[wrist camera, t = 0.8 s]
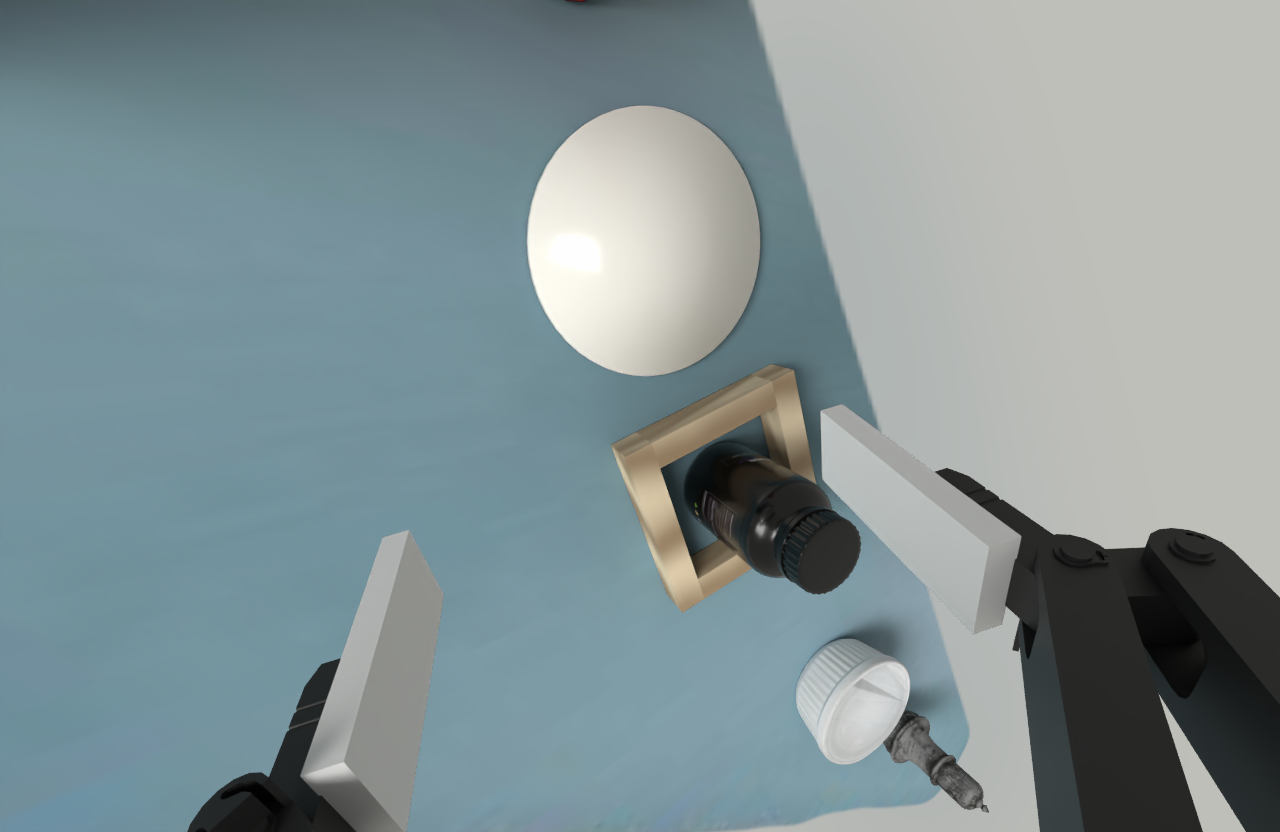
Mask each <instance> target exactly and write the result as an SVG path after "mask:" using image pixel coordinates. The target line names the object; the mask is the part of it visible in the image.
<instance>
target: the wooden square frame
mask: <svg viewBox="0 0 1280 832" xmlns="http://www.w3.org/2000/svg"><path fill="white" fill-rule="evenodd" d="M759 415H760V417H761V421H762V425H763V430H764V434H765V438H766V442H767V447H768V451H769V455H770V459H771V460H773V461H775V462H777V463H778V464H780V465H782V466H784V467H786V468H788V469H790V470H792V471H793V472H795V473H797V474H799V475H801V476H803V477H805V478H807V479H808V480H810V481H812V482H813V483H815V484H816V481H815V476H814V471H813V466H812V460H811V455H810V450H809V445H808V440H807V435H806V430H805V425H804V419H803V414H802V409H801V404H800V399H799V394H798V389H797V384H796V378H795V373H794V370H792V369H788V368H785V367H781V366H777V365H773V364H771V365H769V366H767V367H765V368H763V369H761V370H759V371H757V372H755V373H753V374H751V375H749V376H747V377H745V378H743V379H741V380H739V381H737V382H735V383H733V384H731V385H729V386H727V387H725V388H723V389H721V390H719V391H717V392H715V393H713V394H711V395H709V396H707V397H705V398H703V399H701V400H699V401H697V402H695V403H693V404H691V405H689V406H687V407H685V408H683V409H681V410H679V411H677V412H675V413H673V414H671V415H669V416H667V417H665V418H663V419H661V420H659V421H657V422H655V423H653V424H651V425H649V426H647V427H645V428H643V429H641V430H640V431H638V432H636V433H634V434H632V435H630V436H628V437H626V438H624V439H622V440H620V441H618V442H616V443H614V444H612V445H611V447H612V450H613V452H614V455H615V458H616V460H617V463H618V465H619V468H620V471H621V473H622V476H623V479H624V481H625V484H626V487H627V489H628V492H629V495H630V497H631V500H632V502H633V505H634V508H635V510H636V513H637V516H638V518H639V521H640V524H641V526H642V529H643V532H644V534H645V537H646V539H647V542H648V545H649V547H650V550H651V553H652V555H653V558H654V561H655V563H656V566H657V569H658V571H659V574H660V576H661V579H662V582H663V584H664V587H665V590H666V592H667V594H668V596H669V597H670V598H671V599H672V600H673V602H674V603H675V604H676V605H677V607H678V608H679V609H680V610H681V611H682V613H683V612H684V611H686V610H687V609H689V608H690V607H692V606H694V605H695V604H697V603H698V602H700V601H701V600H703V599H705V598H706V597H708V596H709V595H711V594H712V593H714V592H715V591H717V590H719V589H720V588H722V587H723V586H725V585H726V584H728V583H730V582H731V581H733V580H734V579H736V578H737V577H739V576H741V575H742V574H744V573H745V572H747V571H748V570H750V569H752V568H751V567H750V566H749V565H748V564H747V563H745V562H744V561H743V560H742V559H741V558H740V557H739V556H737V555H736V554H735V553H734V552H733V551H732V550H731V549H729V548H728V547H727V546H726V545H725V544H724V543H723V542H721V541H720V540H717V541H716V542H714V543H712V544H711V545H709V546H707V547H706V548H704V549H702V550H701V551H699V552H697V553H696V554H694V555H693V556H691V557H690V555H689V552H688V549H687V546H686V543H685V540H684V537H683V534H682V531H681V528H680V525H679V523H678V520H677V517H676V514H675V511H674V508H673V505H672V502H671V499H670V496H669V493H668V490H667V487H666V484H665V481H664V478H663V475H662V473H661V470H660V468H662V467H664V466H666V465H668V464H670V463H672V462H673V461H675V460H677V459H679V458H681V457H683V456H685V455H687V454H688V453H690V452H692V451H694V450H696V449H698V448H700V447H701V446H703V445H705V444H707V443H709V442H711V441H713V440H715V439H716V438H718V437H720V436H722V435H724V434H726V433H728V432H730V431H731V430H733V429H735V428H737V427H739V426H741V425H743V424H744V423H746V422H748V421H750V420H752V419H754V418H756V417H758V416H759Z"/></svg>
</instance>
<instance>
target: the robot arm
mask: <svg viewBox="0 0 1280 832" xmlns="http://www.w3.org/2000/svg"><path fill="white" fill-rule="evenodd" d="M821 448H822V480H823V481H824V482H825V483H826V484H827V485H828V486H829V487H830V488H831V489H832V490H833V491H834V492H835V493H836V494H837V495H838V496H839V497H840V498H841V499H842V500H843V501H844V502H845V503H846V504H847V505H848V506H849V507H850V508H851V509H852V510H853V512H854V513H855V514H856V515H857V516H858V517H859V518H860V519H861V520H862V521H863V522H864V523H865V524H866V525H867V526H868V527H869V528H870V529H871V530H872V531H873V532H874V533H875V534H876V535H877V536H878V537H879V538H880V539H881V540H882V541H883V542H884V543H885V544H886V545H887V547H888V548H889V549H890V550H891V551H892V552H893V553H894V554H895V555H896V556H897V557H898V558H899V559H900V560H901V561H902V562H903V563H904V564H905V565H906V566H907V567H908V568H909V569H910V570H911V571H912V572H913V573H914V574H915V575H916V576H917V577H918V578H919V579H920V580H921V582H922V583H923V584H924V585H925V586H926V587H927V588H928V589H929V590H930V591H931V592H932V593H933V594H934V595H935V596H936V597H937V598H938V599H939V600H940V601H941V602H942V603H943V604H944V605H945V606H946V607H947V608H948V609H949V610H950V611H951V612H952V613H953V614H954V615H955V617H957V619H958V620H959V621H960V622H961V623H962V624H963V625H964V626H965V627H966V628H967V629H968V630H969V631H970V632H971V633H972V634H976V633H979V632H981V631H984V630H987V629H990V628H993V627H996V626H999V625H1002V622H1003V618H1004V614H1005V609H1006V606H1007V607H1008V608H1009V609H1010V610H1011V611H1012V612H1013V613H1014V614H1015V615H1017V616H1018V617H1019V618H1020V620H1019V624H1018V629H1017V633H1016V637H1015V641H1014V646H1013V650H1014V651H1019V647H1020V653H1021V662H1022V671H1023V680H1024V690H1025V699H1026V708H1027V716H1028V726H1029V735H1030V745H1031V754H1032V762H1033V771H1034V781H1035V790H1036V799H1037V808H1038V818H1039V827H1040V832H1203V831H1202V828H1201V825H1200V822H1199V819H1198V816H1197V812H1196V809H1195V806H1194V803H1193V800H1192V797H1191V794H1190V790H1189V787H1188V784H1187V781H1186V778H1185V775H1184V772H1183V769H1182V766H1181V762H1180V759H1179V756H1178V753H1177V750H1176V747H1175V744H1174V741H1173V738H1172V734H1171V731H1170V729H1169V725H1168V722H1167V719H1166V716H1165V713H1164V710H1163V707H1162V703H1161V701H1160V697H1159V695H1160V696H1161V698H1162V699H1163V701H1164V703H1165V704H1166V706H1167V707H1168V709H1169V710H1170V712H1171V714H1172V715H1173V717H1174V718H1175V720H1176V722H1177V723H1178V725H1179V726H1180V728H1181V729H1182V731H1183V733H1184V734H1185V736H1186V737H1187V739H1188V741H1189V742H1190V744H1191V745H1192V747H1193V749H1194V750H1195V752H1196V753H1197V754H1198V756H1199V758H1200V759H1201V761H1202V763H1203V764H1204V766H1205V767H1206V769H1207V770H1208V772H1209V774H1210V775H1211V777H1212V779H1213V780H1214V782H1215V783H1216V785H1217V786H1218V788H1219V790H1220V791H1221V793H1222V794H1223V796H1224V797H1225V799H1226V801H1227V802H1228V804H1229V805H1230V807H1231V809H1232V810H1233V812H1234V813H1235V815H1236V817H1237V818H1238V820H1239V821H1240V823H1241V824H1242V826H1243V828H1244V829H1245V831H1246V832H1280V597H1279V596H1278V595H1277V594H1276V593H1275V592H1273V590H1272V589H1271V588H1270V587H1269V586H1268V585H1267V584H1266V583H1265V582H1264V581H1263V580H1262V579H1261V578H1260V577H1259V576H1258V575H1257V574H1256V573H1255V572H1254V571H1253V570H1252V569H1251V568H1250V567H1249V566H1248V565H1247V564H1246V563H1245V562H1244V561H1243V560H1242V559H1241V558H1240V557H1239V556H1238V555H1237V554H1236V553H1235V552H1234V551H1232V550H1231V549H1230V548H1229V547H1227V546H1226V545H1224V544H1223V543H1222V542H1219V541H1218V540H1215V539H1213V538H1211V537H1209V536H1207V535H1204V534H1201V533H1197V532H1194V531H1190V530H1184V529H1174V528H1169V529H1159V530H1157V531H1155V532H1153V533H1151V534H1150V536H1149V539H1148V541H1147V544H1146V547H1145V548H1125V549H1104V548H1103V547H1101V546H1100V545H1098V544H1096V543H1094V542H1092V541H1090V540H1087V539H1085V538H1081V537H1077V536H1073V535H1061V534H1056V535H1053V534H1052V533H1050V532H1049V531H1047V530H1045V529H1044V528H1043V527H1041V526H1040V525H1039V524H1037V523H1036V522H1034V521H1033V520H1031V519H1030V518H1028V517H1027V516H1025V515H1024V514H1023V513H1021V512H1020V511H1018V510H1017V509H1015V508H1014V507H1012V506H1011V505H1010V504H1008V503H1007V502H1005V501H1004V500H1000V499H999V497H998V496H997V495H995V494H994V493H992V492H991V491H989V490H986V489H985V487H984V486H982V485H981V484H979V483H978V482H976V481H975V480H973V479H972V478H971V477H969V476H967V475H964V474H962V473H959V472H956V471H954V470H951V469H948V468H946V469H943V470H939V471H936V472H934V471H932V470H931V469H930V468H928V467H927V466H925V465H924V464H923V463H921V462H920V461H919V460H917V459H916V458H915V457H913V456H912V455H911V454H909V453H908V452H907V451H905V450H904V449H902V448H901V447H900V446H898V445H897V444H896V443H894V442H893V441H892V440H890V439H889V438H888V437H886V436H885V435H884V434H882V433H881V432H880V431H878V430H877V429H875V428H874V427H873V426H871V425H870V424H869V423H867V422H866V421H865V420H863V419H862V418H861V417H859V416H858V415H856V414H855V413H854V412H852V411H851V410H850V409H848V408H847V407H846V406H844V405H843V404H841V405H838V406H834V407H831V408H828V409H824V410H821ZM443 598H444V594H443V592H442V590H441V588H440V587H439V585H438V583H437V581H436V579H435V577H434V575H433V573H432V572H431V570H430V568H429V566H428V564H427V562H426V560H425V559H424V557H423V555H422V553H421V551H420V549H419V547H418V546H417V544H416V542H415V540H414V538H413V536H412V534H411V532H410V531H409V530H407V531H404V532H400V533H397V534H393V535H390V536H387V537H383V539H382V541H381V544H380V547H379V550H378V553H377V556H376V559H375V562H374V564H373V567H372V570H371V573H370V576H369V579H368V582H367V585H366V588H365V590H364V593H363V596H362V599H361V602H360V605H359V608H358V611H357V614H356V616H355V619H354V622H353V625H352V628H351V631H350V634H349V637H348V640H347V642H346V645H345V648H344V651H343V654H342V657H341V658H340V659H337V660H334V661H331V662H327V663H324V664H321V666H320V667H319V668H318V670H317V671H316V672H315V674H314V675H313V676H312V678H311V679H310V680H309V682H308V683H307V684H306V686H305V687H304V690H303V692H302V695H301V697H300V700H299V703H298V705H297V708H296V710H297V712H296V713H294V715H293V718H292V720H291V723H290V725H289V731H288V732H287V733H286V735H285V738H284V740H283V743H282V745H281V748H280V750H279V753H278V755H277V758H276V761H275V763H274V766H273V768H272V771H271V773H270V776H269V777H267V776H266V775H264V774H263V773H262V772H261V773H248V774H246V775H243V776H241V777H239V778H236V779H234V780H233V781H231V782H230V783H228V784H227V785H226V786H224V787H223V788H221V789H220V790H219V791H217V792H216V793H215V794H214V795H213V796H212V797H211V798H210V799H209V800H208V801H207V802H206V803H205V804H204V805H203V807H202V808H201V809H200V811H199V812H198V814H197V815H196V817H195V818H194V820H193V821H192V822H191V824H190V826H189V829H188V832H406V830H407V824H408V818H409V811H410V805H411V799H412V793H413V786H414V780H415V774H416V768H417V761H418V755H419V749H420V742H421V736H422V730H423V724H424V717H425V711H426V705H427V699H428V692H429V686H430V680H431V673H432V667H433V661H434V655H435V648H436V642H437V636H438V630H439V623H440V617H441V611H442V604H443ZM1158 693H1159V694H1158Z"/></svg>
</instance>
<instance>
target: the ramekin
mask: <svg viewBox="0 0 1280 832" xmlns="http://www.w3.org/2000/svg"><path fill="white" fill-rule="evenodd" d="M909 692H910V678H909V674H908V671H907V669H906V668H905V666H904V665H903V664H902V663H901V662H899V661H898V660H897V659H895V658H893V657H891V656H888V655H884V654H882V653H881V652H879V651H877V650H875V649H874V648H872V647H870V646H868V645H866V644H864V643H863V642H861V641H858V640H856V639H838V640H835V641H832V642H830V643H828V644H827V645H825V646H824V647H822V648H821V649H820V650H819V651H818V652H816V653H815V654H814V655H813V657H812V658H811V659H810V660H809V662H808V663H807V665H806V666H805V668H804V670H803V671H802V673H801V675H800V677H799V680H798V683H797V688H796V705H797V709H798V711H799V714H800V716H801V717H802V719H803V720H804V722H805V724H806V725H807V727H808V728H809V730H810V731H811V733H812V734H813V736H814V737H815V739H816V740H817V742H818V746H819V748H820V750H821V751H822V753H823V754H824V755H825V756H826V758H828V759H829V760H830V761H831V762H833V763H836V764H851V763H854V762H857V761H860V760H861V759H863V758H865V757H866V756H867V755H869V754H870V753H871V752H873V751H874V750H875V749H876V748H878V747H879V746H880V745H881V744H882V743H883V742H884V741H885V739H886V738H887V737H888V736H889V735H890V733H891V732H892V731H893V729H894V728H895V726H896V725H897V723H898V721H899V720H900V718H901V716H902V714H903V712H904V710H905V707H906V704H907V701H908V697H909Z"/></svg>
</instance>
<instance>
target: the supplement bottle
mask: <svg viewBox="0 0 1280 832" xmlns="http://www.w3.org/2000/svg"><path fill="white" fill-rule="evenodd" d="M684 499H685V503H686V506H687V508H688V510H689V511H690V513H691V514H692V515H693V516H694V517H695V518H696V519H697V520H698V521H699V522H700V523H701V524H702V525H703V526H704V527H706V528H707V529H708V530H709V531H710V532H711V533H712V534H713V535H715V536H716V537H717V538H718V539H719V540H720V541H721V542H723V543H724V544H725V545H726V546H727V547H728V548H729V549H731V550H732V551H733V552H734V553H735V554H736V555H737V556H739V557H740V558H741V559H742V560H743V561H744V562H745V563H747V564H748V565H749V566H750V567H751V568H753V569H754V570H755V571H757V572H758V573H760V574H762V575H764V576H767V577H772V578H787V579H789V580H790V581H791V582H793V583H796V584H797V585H798V586H799V587H801V588H802V589H804V590H805V591H806V592H808V593H812V594H822V593H824V594H825V593H827V592H829V591H832V590H833V589H834V588H837V587H838V586H839V585H840V584H842V583H843V582H844V581H845V579H847V578H848V576H849V575H850V573H851V572H852V571H853V569H854V567H855V565H856V563H857V560H858V558H859V553H860V551H861V549H860V546H861V542H860V538H861V537H860V536H859V531H858V530H857V529H856V527H855V526H854V525H853V524H852V523H851V522H850V521H848V520H847V519H845V518H843V517H841V516H840V515H839V514H838V513H836V512H835V511H833V510H832V507H831V504H830V501H829V499H828V497H827V495H826V494H825V492H824V491H823V490H822V489H821V488H820V487H819V486H818V485H817V484H815V483H813V482H812V481H810V480H808V479H807V478H805V477H803V476H801V475H799V474H797V473H795V472H793V471H792V470H790V469H788V468H786V467H784V466H782V465H780V464H778V463H777V462H775V461H773V460H771V459H769V458H767V457H765V456H763V455H761V454H760V453H758V452H756V451H754V450H752V449H750V448H748V447H746V446H744V445H742V444H739V443H734V442H724V443H719V444H716V445H714V446H712V447H710V448H708V449H706V450H705V451H704V452H702V453H701V454H700V455H699V456H698V457H697V458H696V459H695V461H694V462H693V463H692V465H691V467H690V468H689V470H688V473H687V475H686V478H685V483H684Z"/></svg>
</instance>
